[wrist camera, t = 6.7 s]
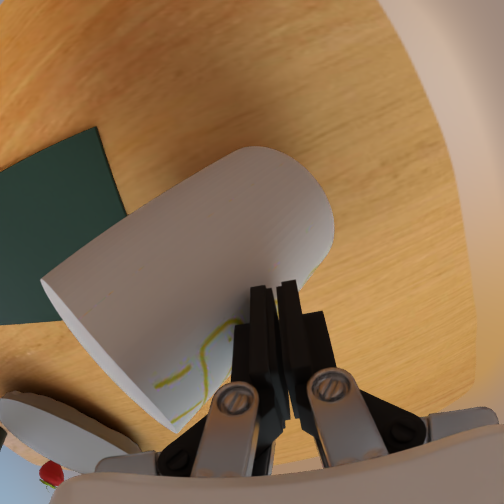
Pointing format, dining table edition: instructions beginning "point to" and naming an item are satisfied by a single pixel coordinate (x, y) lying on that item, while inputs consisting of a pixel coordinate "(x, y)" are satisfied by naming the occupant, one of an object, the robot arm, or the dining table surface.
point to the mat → (51, 219)
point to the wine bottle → (2, 436)
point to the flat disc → (61, 431)
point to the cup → (191, 276)
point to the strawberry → (51, 474)
